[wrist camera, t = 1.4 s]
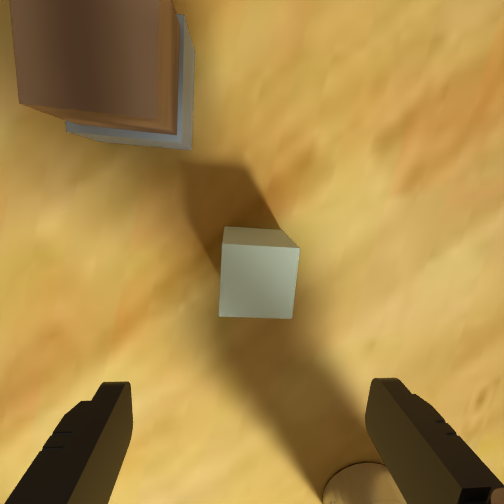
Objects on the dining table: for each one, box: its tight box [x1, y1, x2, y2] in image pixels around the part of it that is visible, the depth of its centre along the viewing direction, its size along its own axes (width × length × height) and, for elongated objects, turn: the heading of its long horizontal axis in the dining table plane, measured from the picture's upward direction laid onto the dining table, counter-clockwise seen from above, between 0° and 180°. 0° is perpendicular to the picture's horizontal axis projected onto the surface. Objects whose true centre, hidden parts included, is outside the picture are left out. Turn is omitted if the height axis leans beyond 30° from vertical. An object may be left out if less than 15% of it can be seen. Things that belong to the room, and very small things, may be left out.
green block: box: [219, 226, 300, 319], centre depth 22 cm, size 5×5×7 cm
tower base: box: [66, 14, 195, 150], centre depth 19 cm, size 7×7×5 cm
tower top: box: [10, 0, 180, 135], centre depth 15 cm, size 6×6×5 cm
